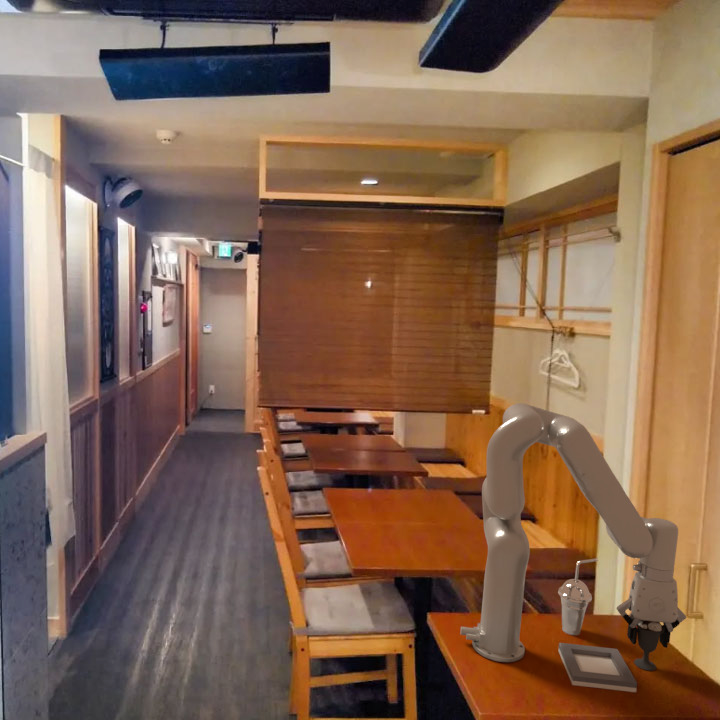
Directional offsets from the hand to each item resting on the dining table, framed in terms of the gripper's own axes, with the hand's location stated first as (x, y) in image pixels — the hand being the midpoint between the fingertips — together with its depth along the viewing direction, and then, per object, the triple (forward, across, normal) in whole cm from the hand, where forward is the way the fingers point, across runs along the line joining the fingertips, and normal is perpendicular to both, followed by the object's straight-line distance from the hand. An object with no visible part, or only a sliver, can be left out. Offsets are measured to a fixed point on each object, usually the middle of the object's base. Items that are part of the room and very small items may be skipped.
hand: (647, 642), depth 152 cm
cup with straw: (+6, -14, +13) cm, 20 cm away
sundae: (+6, 0, 0) cm, 6 cm away
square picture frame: (+6, -13, -5) cm, 15 cm away
